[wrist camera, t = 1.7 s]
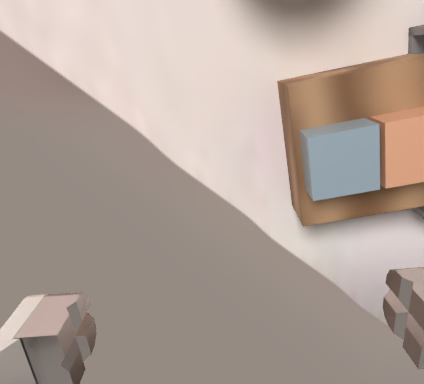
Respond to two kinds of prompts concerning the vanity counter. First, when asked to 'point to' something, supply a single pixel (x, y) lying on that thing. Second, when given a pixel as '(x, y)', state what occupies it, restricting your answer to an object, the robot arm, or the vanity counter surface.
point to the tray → (418, 44)
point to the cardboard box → (346, 111)
